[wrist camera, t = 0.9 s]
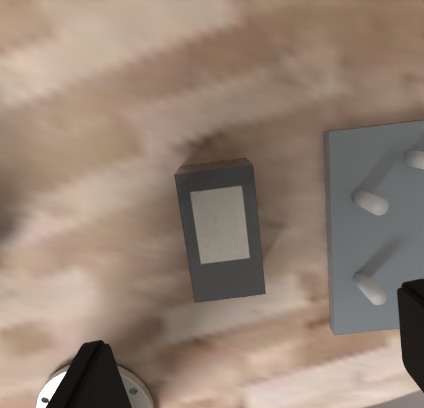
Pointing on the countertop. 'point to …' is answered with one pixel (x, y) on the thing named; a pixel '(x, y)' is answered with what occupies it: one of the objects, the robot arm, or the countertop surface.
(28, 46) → the countertop surface
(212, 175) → the drive
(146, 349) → the countertop surface
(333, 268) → the peg board
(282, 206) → the countertop surface
